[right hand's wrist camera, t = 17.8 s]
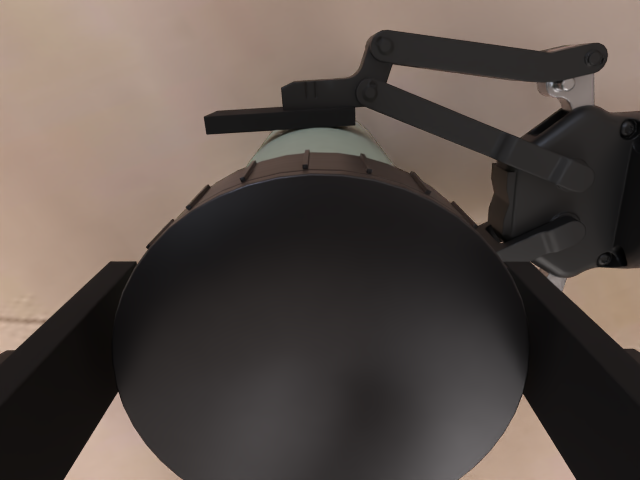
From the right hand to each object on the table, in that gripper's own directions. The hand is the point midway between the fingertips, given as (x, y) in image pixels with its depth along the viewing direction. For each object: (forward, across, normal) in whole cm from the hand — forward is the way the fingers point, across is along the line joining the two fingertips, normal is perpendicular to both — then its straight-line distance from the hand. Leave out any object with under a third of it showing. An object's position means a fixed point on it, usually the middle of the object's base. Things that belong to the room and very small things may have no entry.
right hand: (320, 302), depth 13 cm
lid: (-3, 0, 0) cm, 3 cm away
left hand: (+9, -5, 0) cm, 11 cm away
